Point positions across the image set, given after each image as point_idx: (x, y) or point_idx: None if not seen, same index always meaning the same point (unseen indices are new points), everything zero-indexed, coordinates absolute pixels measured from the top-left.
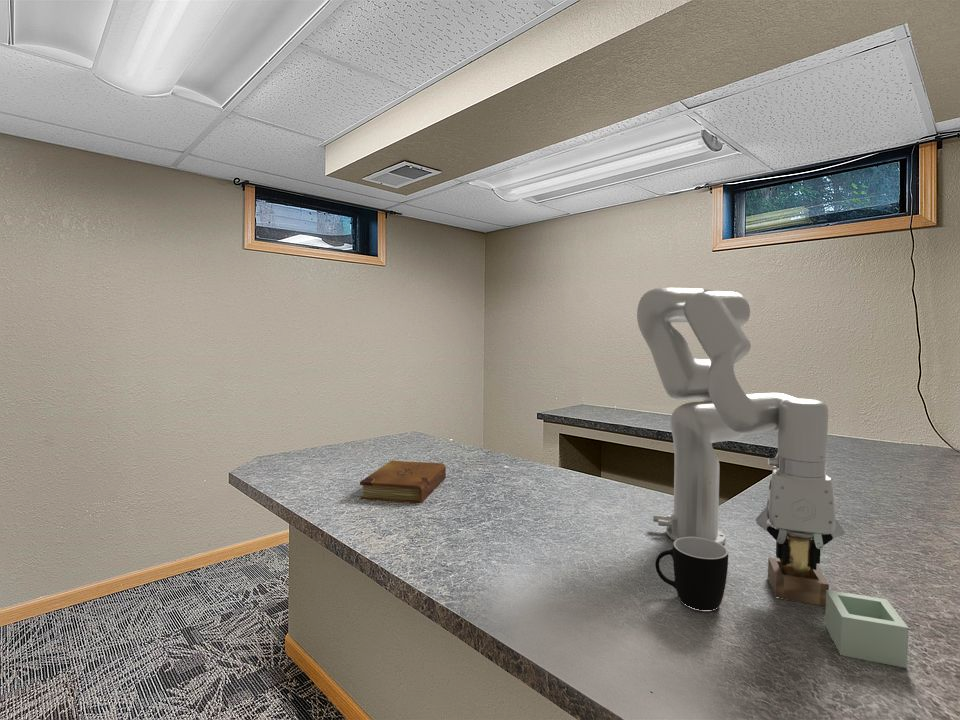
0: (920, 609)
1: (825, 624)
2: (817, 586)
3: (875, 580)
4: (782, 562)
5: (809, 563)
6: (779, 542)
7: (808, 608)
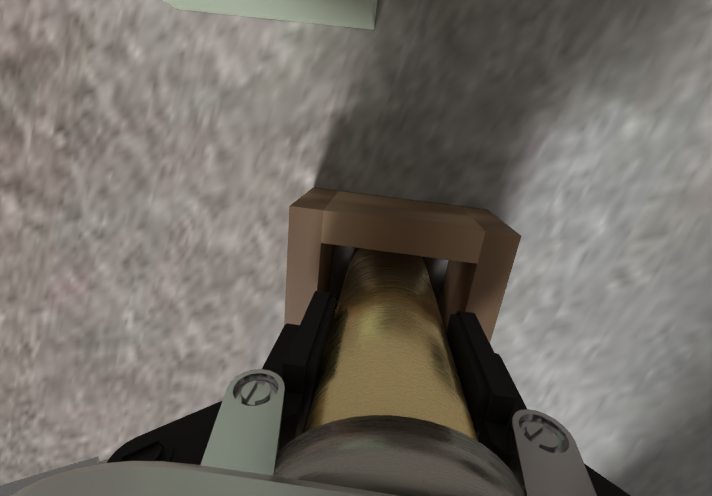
0: (34, 238)
1: (374, 21)
2: (339, 207)
3: (120, 386)
4: (475, 321)
5: (340, 316)
6: (538, 422)
7: (389, 157)
